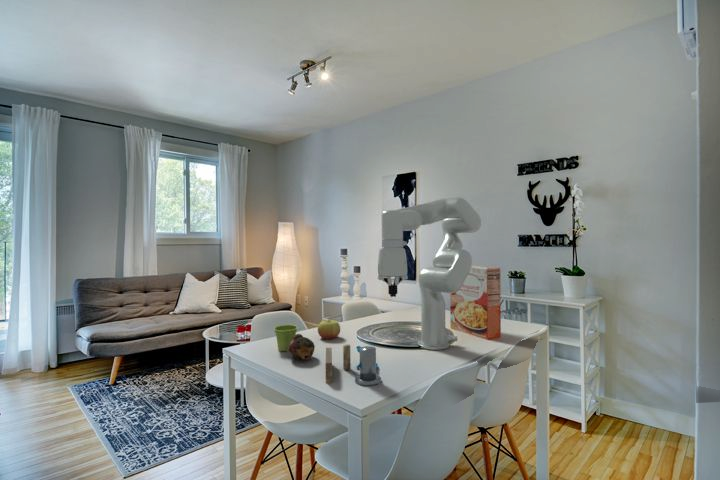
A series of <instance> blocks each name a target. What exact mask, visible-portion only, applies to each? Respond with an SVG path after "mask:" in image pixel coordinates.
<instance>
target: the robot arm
mask: <svg viewBox="0 0 720 480" xmlns="http://www.w3.org/2000/svg"><path fill="white" fill-rule="evenodd" d="M441 221H442V222H441ZM438 222H441V227H442V232H443V233H442V235H443V241H442V243H441V245H440V246H439V248H438V249H437V252H436V253H435V255H434V256H433V258H432V266H429V267H424V268H423V269H422V270H420V272H419V274H418V276H417V277H418V278H417V279H418V286H419V291H420V300H421V301H420V308H421V309H420V310H421V311H420V312H421V313H420V314H421V315H420V316H421V319H420V321H421V325H420V327H421V339H419V340H418V341H417V346H418V345H420V346H421V347H420V348H421V349H424V350H430V351H440V350H446V349H449V348H450V342H458V336H455V335H451V334H450V335H448V334H446V300H445V297H444V295H443V294H442V293H445V294H450V293H456V292H457V291H459V289H460V288H461V286H462V285H463V283H464V281H465V279H466V277H467V275H468V273H469V271H470V269H471V266H473V257H472V255H471V253H470V252H469V251H468V250H465V249H463V247H464V245H463V241H462V240H461V239H460V237H459V235H458V234H473V233H476V232H478V231H479V230H480V229H481V227H482V219H481V217H480V215H479V212H477V210H475V209H474V207H473V206H472V205H471V204H470V203H469V202H468V201H467V200H466V198H465V199H464V198H463V197H447V198H440V199H436V200H433V201H427V202H425V203H421V204H415V205H412V206H408V207H403V208H398V209H389V210H384V211H382V212H381V248H379V250H378V259H377V261H378V262H377V274H378V276H377V280H379V281H382V282H385V283H386V285H387V286H388V289H387V291H388V295H389V296H390V297H391V298H393V297H394V298H395V297H397V295H398V286H399V284H400V283H401V282H402V281H405V280H408V279H409V276H408V261H407V252H406V249H405V248H404V246H407V245H408V241H406V240H404V232H406V231H407V232H409V231H410V232H411V231H416V230H418V229H419V228H420V227H421V226H426V225H432V224H435V223H438ZM392 278H393V283H392Z"/></svg>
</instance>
